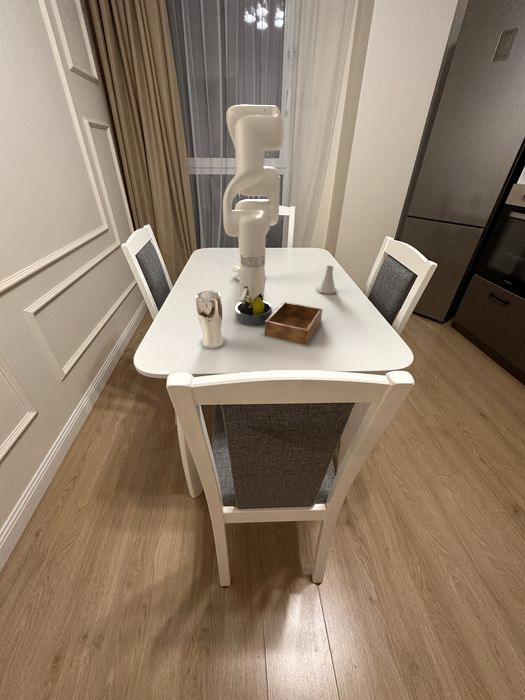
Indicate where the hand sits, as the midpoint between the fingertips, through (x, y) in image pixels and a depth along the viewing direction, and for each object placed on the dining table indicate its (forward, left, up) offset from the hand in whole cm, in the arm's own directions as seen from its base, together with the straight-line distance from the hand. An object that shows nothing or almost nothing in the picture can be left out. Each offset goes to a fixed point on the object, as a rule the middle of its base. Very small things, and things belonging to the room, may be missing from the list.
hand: (253, 312), depth 96 cm
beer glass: (-4, -19, -2) cm, 20 cm away
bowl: (0, 0, -2) cm, 2 cm away
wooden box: (+15, -1, -2) cm, 15 cm away
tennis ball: (0, 0, -2) cm, 2 cm away
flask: (+17, +34, -2) cm, 38 cm away
